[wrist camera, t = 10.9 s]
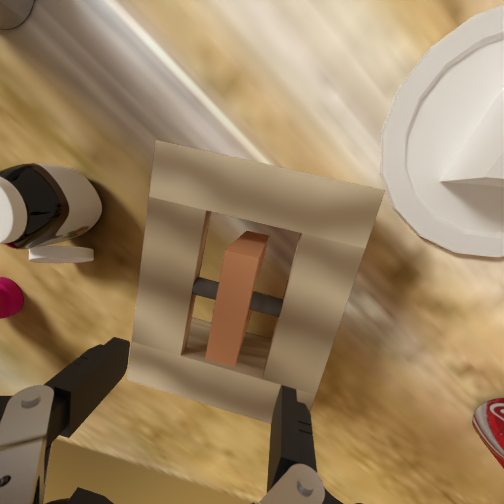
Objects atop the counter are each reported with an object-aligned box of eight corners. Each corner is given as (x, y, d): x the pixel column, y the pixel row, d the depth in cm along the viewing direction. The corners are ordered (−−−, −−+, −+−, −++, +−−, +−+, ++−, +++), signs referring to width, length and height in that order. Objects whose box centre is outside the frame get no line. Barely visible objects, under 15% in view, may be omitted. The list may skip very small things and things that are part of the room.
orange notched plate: (246, 230, 29) (225, 250, 19) (268, 235, 29) (259, 258, 19) (231, 306, 31) (204, 358, 21) (251, 311, 31) (234, 366, 21)
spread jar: (86, 160, 34) (-14, 142, 23) (136, 231, 35) (65, 249, 24) (28, 209, 37) (-86, 215, 25) (77, 274, 38) (-12, 307, 27)
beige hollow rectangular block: (203, 160, 32) (155, 139, 20) (347, 192, 30) (385, 190, 19) (176, 322, 37) (126, 380, 26) (297, 356, 36) (302, 433, 24)
